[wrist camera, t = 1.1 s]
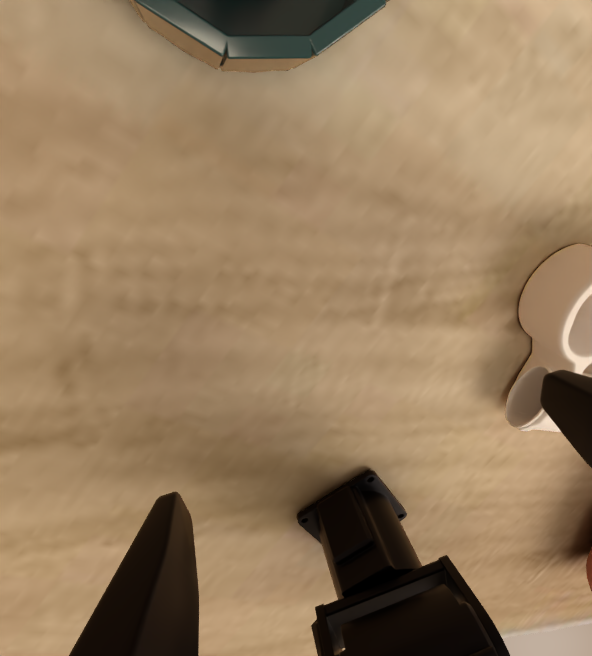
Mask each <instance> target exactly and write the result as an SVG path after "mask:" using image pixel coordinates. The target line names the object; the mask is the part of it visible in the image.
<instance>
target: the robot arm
mask: <svg viewBox="0 0 592 656" xmlns="http://www.w3.org/2000/svg"><path fill="white" fill-rule="evenodd" d="M540 402H541V405H542V407H543V409H544V411H545V412H546V413H547V414H548V416H549V417H550V418H551V419H552V421H553V422H554V423H555V424H556V426H557V427H558V428H559V429H560V431H561V432H562V433H563V434H564V436H565V437H566V438H567V439H568V441H569V442H570V443H571V444H572V446H573V447H574V448H575V449H576V451H577V452H578V453H579V454H580V456H581V457H582V458H583V459H584V460H585V461H586V463H587V464H588V465H589V466H590V467H591V468H592V377H588V376H585V375H581V374H577V373H574V372H570V371H567V370H557V371H554V372H551V373H548V374H546V375H545V376H544V378H543V383H542V389H541V396H540ZM406 516H407V513H406V511H405V509H404V508H403V507H402V505H401V504H400V503H399V502H398V500H397V499H396V498H395V497H394V495H393V494H392V493H391V492H390V490H389V489H388V488H387V487H386V485H385V484H384V483H383V482H382V481H381V479H380V478H379V477H378V476H377V474H376V473H375V472H374V471H372V470H369V471H366V472H364V473H363V474H361V475H359V476H358V477H356V478H355V479H353V480H351V481H350V482H348V483H347V484H345V485H343V486H342V487H340V488H338V489H337V490H335V491H334V492H332V493H330V494H329V495H327V496H325V497H324V498H322V499H321V500H319V501H317V502H316V503H314V504H313V505H311V506H309V507H308V508H306V509H304V510H303V511H301V512H300V513H299V514H298V515H297V520H298V523H299V524H300V525H301V526H302V527H303V528H304V529H305V530H306V531H308V532H309V533H310V534H311V535H312V536H313V537H314V538H316V539H317V540H318V541H319V542H320V543H321V544H322V546H323V550H324V553H325V556H326V560H327V563H328V567H329V570H330V573H331V577H332V580H333V584H334V587H335V590H336V594H337V597H338V600H337V601H334V602H332V603H329V604H327V605H324V604H322V605H319V606H317V607H315V610H316V615H317V620H316V621H315V622H314V623H313V624H312V626H311V627H312V631H313V636H314V640H315V644H316V649H317V654H318V656H510V654H509V652H508V650H507V648H506V646H505V644H504V641H503V639H502V638H501V636H500V634H499V632H498V630H497V628H496V627H495V625H494V623H493V621H492V620H491V618H490V617H489V615H488V614H487V612H486V610H485V609H484V608H483V606H482V605H481V603H480V602H479V600H478V599H477V598H476V596H475V595H474V593H473V592H472V590H471V589H470V588H469V586H468V585H467V583H466V582H465V580H464V579H463V577H462V576H461V575H460V573H459V572H458V570H457V569H456V567H455V566H454V565H453V563H452V562H451V560H450V559H449V557H448V556H447V555H445V556H443V557H440V558H439V560H437V561H435V562H432V563H430V564H427V565H425V566H422V565H421V563H420V561H419V559H418V557H417V555H416V553H415V551H414V549H413V547H412V545H411V543H410V541H409V539H408V537H407V535H406V533H405V531H404V529H403V527H402V525H401V523H400V521H401V520H403V519H404V518H405V517H406ZM198 640H199V591H198V579H197V568H196V557H195V546H194V535H193V525H192V519H191V515H190V513H189V511H188V509H187V507H186V505H185V503H184V501H183V500H182V498H181V496H180V494H179V493H178V492H172V493H169V494H166V495H163V496H160V497H159V498H158V499H157V500H156V502H155V504H154V505H153V507H152V509H151V511H150V513H149V514H148V516H147V518H146V520H145V521H144V523H143V525H142V527H141V529H140V530H139V532H138V534H137V536H136V537H135V539H134V541H133V543H132V545H131V546H130V548H129V550H128V552H127V553H126V555H125V557H124V559H123V561H122V562H121V564H120V566H119V568H118V569H117V571H116V573H115V575H114V576H113V578H112V580H111V582H110V584H109V585H108V587H107V589H106V591H105V592H104V594H103V596H102V598H101V600H100V601H99V603H98V605H97V607H96V608H95V610H94V612H93V614H92V616H91V617H90V619H89V621H88V623H87V624H86V626H85V628H84V630H83V632H82V633H81V635H80V637H79V639H78V640H77V642H76V644H75V646H74V648H73V649H72V651H71V653H70V655H69V656H198ZM342 648H345V649H346V650H344V651H342Z"/></svg>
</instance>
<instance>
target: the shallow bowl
mask: <svg viewBox="0 0 592 656" xmlns="http://www.w3.org/2000/svg"><path fill="white" fill-rule="evenodd" d="M129 1H130V3H131V4H132V6H133V8H134V9H135V11H136V12H137V14H138V15H139V17H140V18H141V20H142V21H143V22H146V23H147V25H148V27H149V28H150V29H152V30H154V31H155V32H157V33H158V34H160V35H162V36H163V37H165V38H166V39H167V40H168V41H170V42H171V43H172V44H174V45H175V46H177V47H178V48H180V49H181V50H182V51H184V52H186V53H187V54H189V55H191V56H193V57H195V58H197V59H199V60H200V61H203V62H205V63H207V64H208V65H210V66H211V67H213V68H215V69H218V68H221V70H222V71H237V72H252V73H256V72H266V71H288V70H290V69H292V68H296V67H298V66H300V65H301V64H303V63H305V62H307V61H309V60H311V59H313V58H315V57H316V56H318V55H319V54H321V53H322V52H324V51H325V50H326V49H328V48H329V47H330V46H332V45H333V44H334V43H336V42H337V41H339V40H340V39H341V38H343V37H344V36H345V35H347V34H348V33H349V32H351V31H352V30H354V29H355V28H356V27H358V26H359V25H360V24H362V23H363V22H365V21H366V20H367V19H369V18H370V17H371V16H373V15H374V14H375V13H377V12H378V11H380V10H381V9H382V8H384V7H385V5H386V3H387V2H388V1H390V0H129Z"/></svg>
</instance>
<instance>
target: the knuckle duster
mask: <svg viewBox="0 0 592 656" xmlns="http://www.w3.org/2000/svg"><path fill="white" fill-rule="evenodd" d="M519 320H520V323H521V326H522V327H523V329H524V330H525V332H526V333H527V334H528V335H529V336H531V337H532V354H531V355H530V357H529V358H528V360H527V362H526V363H525V365H524V367H523V368H522V370H521V371H520V373H519V375H518V377H517V379H516V381H515V383H514V384H513V386H512V388H511V390H510V392H509V394H508V397H507V401H506V407H505V417H506V419H507V421H508V423H509V424H510V425H512V426H514V427H517V428H518V429H519V430H520V431H529V430H532V429H536V430H545V431H553V432H561V431H560V429H559V428H558V427H557V426H556V424H555V423H554V422H553V421H552V419H551V418H550V417H549V416H548V414H547V413H546V412H545V411H544V409H543V407H542V405H541V402H540V396H541V389H542V383H543V378H544V376H545V375H546V374H548V373H551V372H554V371H557V370H567V371H570V372H574V373H577V374H581V375H585V376H588V377H592V247H591V246H588V245H585V244H581V243H579V244H574V245H571V246H568V247H566V248H564V249H561V250H560V251H558V252H556V253H555V254H553V255H552V256H550V257H549V258H548V259H547V260H545V261H544V262H543V263H542V264H541V265H540V266H539V267H538V268H537V269H536V271H535V272H534V273H533V274H532V276H531V277H530V279H529V280H528V282H527V284H526V286H525V288H524V290H523V292H522V295H521V298H520V302H519Z"/></svg>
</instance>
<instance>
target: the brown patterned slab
mask: <svg viewBox="0 0 592 656" xmlns="http://www.w3.org/2000/svg"><path fill="white" fill-rule="evenodd" d="M586 571H587V579H588V582H589V585H590V589H591V591H592V548H591V550H590V553H589V555H588V558H587V564H586Z"/></svg>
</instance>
